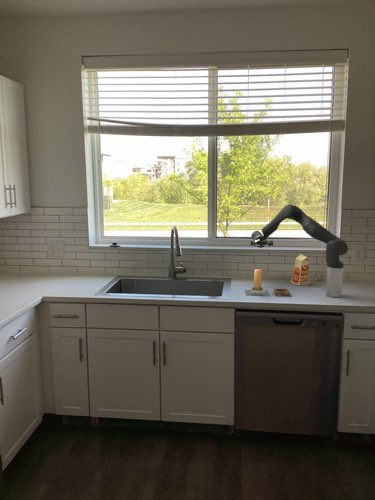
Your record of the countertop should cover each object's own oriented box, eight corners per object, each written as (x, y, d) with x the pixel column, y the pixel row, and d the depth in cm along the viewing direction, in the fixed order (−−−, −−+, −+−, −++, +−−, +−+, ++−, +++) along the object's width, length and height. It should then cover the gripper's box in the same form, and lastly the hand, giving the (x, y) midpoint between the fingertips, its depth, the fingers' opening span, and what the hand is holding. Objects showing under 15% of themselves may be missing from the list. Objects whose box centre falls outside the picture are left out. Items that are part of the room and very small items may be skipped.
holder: (288, 293, 250) (288, 288, 250) (291, 298, 241) (291, 292, 240) (271, 293, 251) (272, 287, 251) (273, 297, 242) (273, 292, 241)
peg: (261, 292, 250) (262, 269, 248) (260, 294, 246) (261, 271, 244) (254, 291, 252) (255, 268, 249) (252, 293, 248) (253, 270, 245)
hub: (267, 291, 255) (268, 286, 255) (270, 298, 241) (270, 292, 241) (244, 291, 257) (245, 285, 256) (245, 297, 243) (246, 291, 242)
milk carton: (290, 282, 279) (292, 253, 276) (301, 281, 283) (303, 252, 279) (299, 285, 271) (301, 255, 267) (311, 284, 274) (312, 254, 271)
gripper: (249, 235, 276) (251, 238, 260) (271, 235, 274) (274, 238, 258) (249, 246, 277) (250, 250, 261) (271, 246, 275) (273, 250, 260)
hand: (262, 244), depth 260 cm, fingers open, 8 cm apart
